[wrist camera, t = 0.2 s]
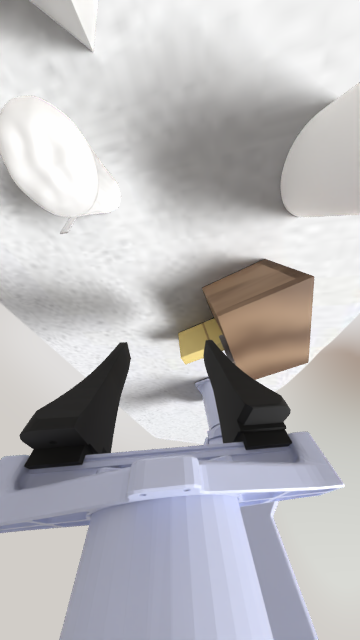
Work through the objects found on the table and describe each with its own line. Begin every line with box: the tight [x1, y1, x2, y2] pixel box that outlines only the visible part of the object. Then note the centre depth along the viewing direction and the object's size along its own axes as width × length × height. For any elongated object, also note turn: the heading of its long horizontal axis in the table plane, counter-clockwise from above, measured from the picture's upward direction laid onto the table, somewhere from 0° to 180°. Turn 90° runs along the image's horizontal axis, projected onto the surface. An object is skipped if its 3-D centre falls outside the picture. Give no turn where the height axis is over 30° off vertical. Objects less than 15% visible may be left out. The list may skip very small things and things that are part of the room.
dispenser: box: [202, 259, 314, 380], centre depth 20 cm, size 13×10×8 cm
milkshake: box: [0, 96, 121, 234], centre depth 11 cm, size 4×5×10 cm
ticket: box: [178, 318, 224, 364], centre depth 22 cm, size 2×14×6 cm, turn 115°
